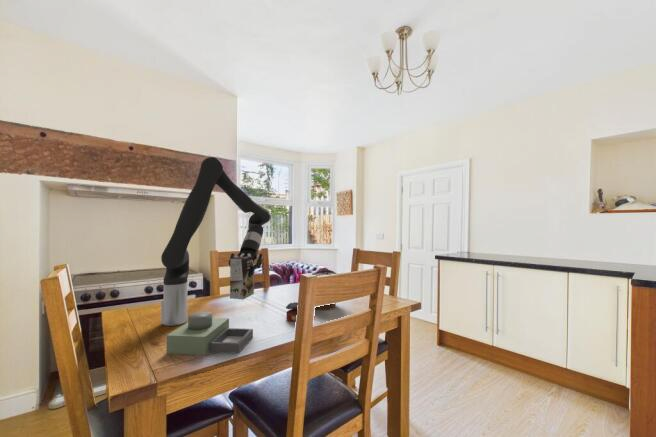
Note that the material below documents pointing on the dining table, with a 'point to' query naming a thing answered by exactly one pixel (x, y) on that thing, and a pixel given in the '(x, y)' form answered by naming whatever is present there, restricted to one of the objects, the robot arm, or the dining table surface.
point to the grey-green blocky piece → (207, 336)
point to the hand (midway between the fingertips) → (241, 275)
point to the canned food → (292, 311)
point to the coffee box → (241, 278)
